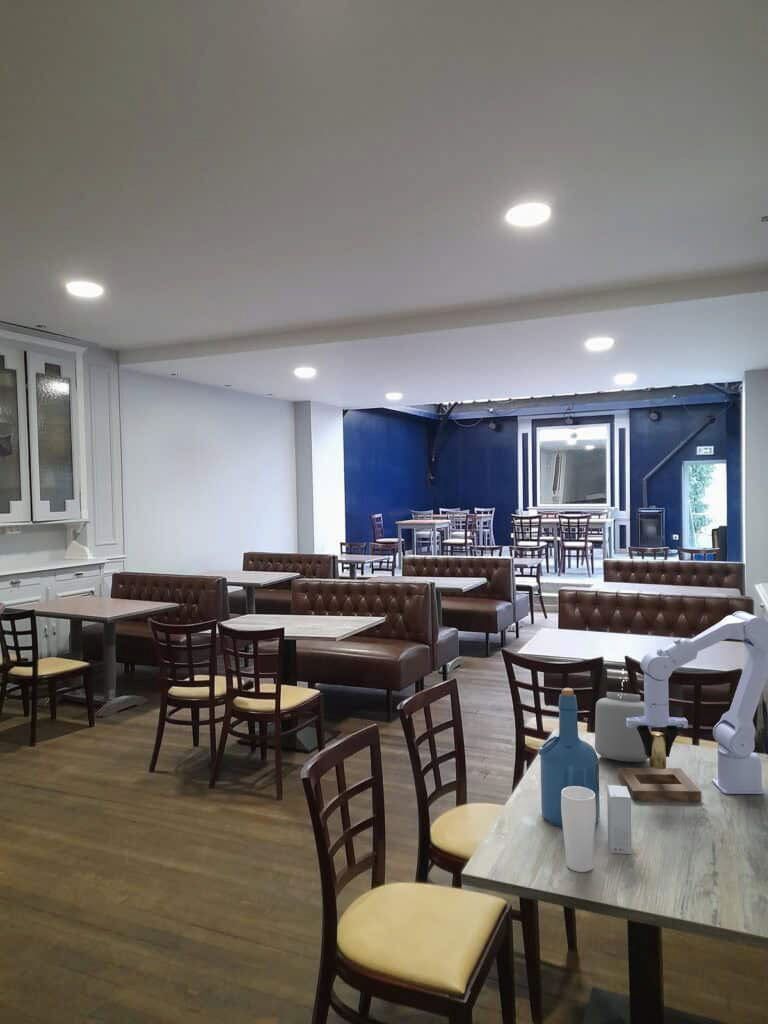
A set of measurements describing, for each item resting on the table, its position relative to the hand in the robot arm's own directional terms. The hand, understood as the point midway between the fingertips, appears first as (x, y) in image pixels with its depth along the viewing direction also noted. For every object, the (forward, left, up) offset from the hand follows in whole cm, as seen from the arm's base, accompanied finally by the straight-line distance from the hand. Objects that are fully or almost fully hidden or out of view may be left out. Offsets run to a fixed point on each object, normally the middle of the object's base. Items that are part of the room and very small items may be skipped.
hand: (657, 755), depth 173 cm
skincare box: (+17, +29, -9) cm, 35 cm away
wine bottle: (+25, +16, -9) cm, 31 cm away
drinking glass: (+27, +37, -9) cm, 47 cm away
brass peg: (0, 0, -3) cm, 3 cm away
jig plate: (0, 0, -8) cm, 8 cm away
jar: (+3, -20, -9) cm, 22 cm away
